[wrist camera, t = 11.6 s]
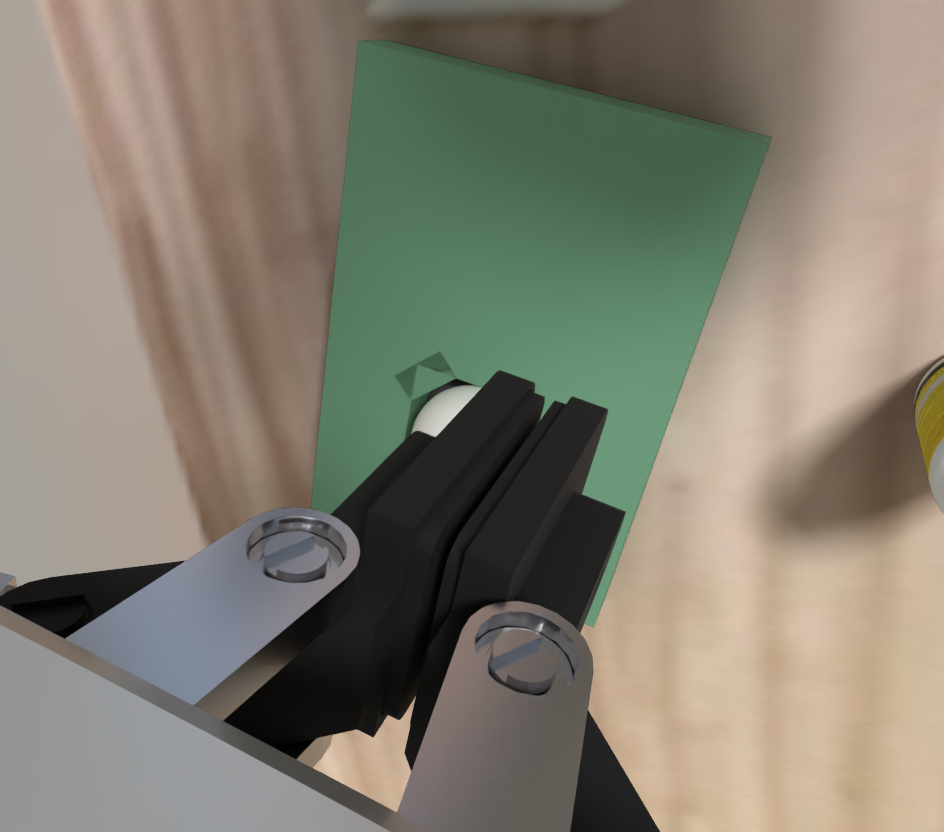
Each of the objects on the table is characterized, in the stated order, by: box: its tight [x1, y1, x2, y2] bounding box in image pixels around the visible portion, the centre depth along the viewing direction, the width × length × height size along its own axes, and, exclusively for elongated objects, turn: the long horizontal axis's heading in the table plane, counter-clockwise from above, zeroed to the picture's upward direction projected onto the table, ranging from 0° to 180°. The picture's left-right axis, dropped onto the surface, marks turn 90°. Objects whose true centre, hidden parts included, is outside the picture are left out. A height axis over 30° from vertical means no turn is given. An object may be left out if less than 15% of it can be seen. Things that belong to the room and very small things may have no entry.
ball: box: [411, 385, 482, 437], centre depth 41 cm, size 6×6×6 cm
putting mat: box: [311, 40, 772, 628], centre depth 40 cm, size 26×18×2 cm
